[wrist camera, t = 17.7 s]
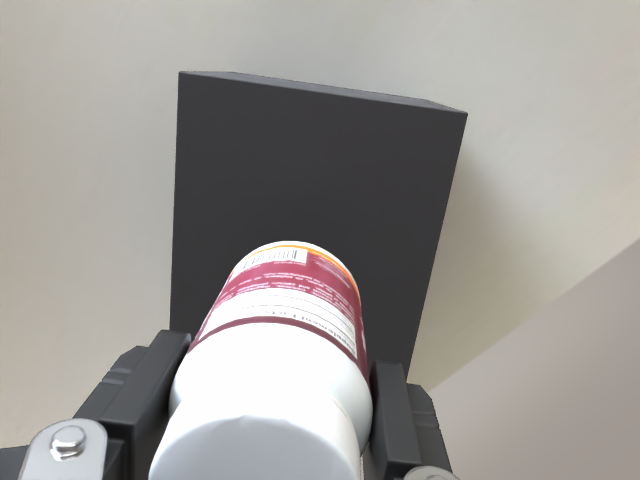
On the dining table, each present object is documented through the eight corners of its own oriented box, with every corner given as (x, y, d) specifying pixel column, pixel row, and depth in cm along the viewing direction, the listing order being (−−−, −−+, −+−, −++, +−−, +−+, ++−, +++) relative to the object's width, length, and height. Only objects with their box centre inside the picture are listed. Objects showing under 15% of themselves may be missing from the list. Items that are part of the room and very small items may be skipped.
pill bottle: (324, 379, 18) (314, 625, 10) (205, 327, 17) (92, 542, 9) (386, 273, 16) (431, 461, 8) (258, 213, 16) (176, 352, 8)
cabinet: (385, 306, 33) (402, 396, 24) (215, 282, 33) (168, 363, 23) (427, 99, 28) (468, 112, 19) (230, 71, 28) (178, 70, 19)
